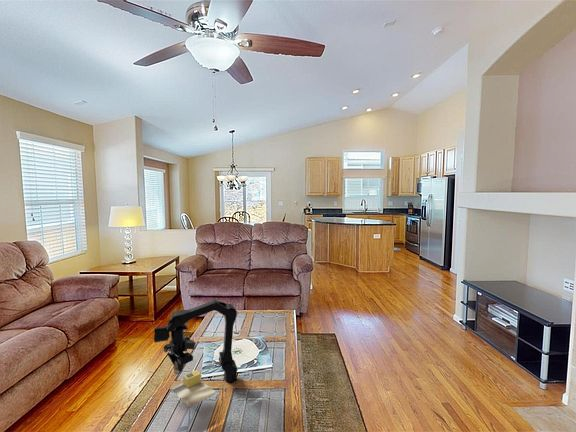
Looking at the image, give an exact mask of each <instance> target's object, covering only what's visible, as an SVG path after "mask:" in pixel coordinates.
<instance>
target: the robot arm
mask: <svg viewBox="0 0 576 432" xmlns="http://www.w3.org/2000/svg"><path fill="white" fill-rule="evenodd" d="M213 311H216V312H218V313H220V314H221V315H223V317H224V331H223V333H224V335H223V347H222V351H219V352H218V353H219V356H218V361H219V362H218V363H219V365H220V366H221V369H222V370H223V373H224V375H223V376H224V382H226V383H229V384H233V383H235V382H237V377H238V376H237V375H238V374H237V372H238V367H237V364H236V361H235V360H234V359H233V354H232V347H233V332H234V324H235V322H236V320H237V315H238V311H237V309H236V307H235V305H234V304H232V303H226V302H224V301H220V300H217V299H213V300H211V301H208V302H206V303H203V304H200V305H198V306H196V307H195V306H194V307H193V308H190V309H182V310H175V311H173V312H172V314H171V316H170V319H169V320H168V322H167V323H166V326H165V325H164V326H163V325H162V326H155V327H154V334H153V342H154V343H161V342H167V341H168V340H169V339H171V340H169V343H166V344H165V345H164V346H163V352H165V353H167V356H168V358H169V360H170V361H171V363H172V365H173V366H174V362H175V363H176V365H177V368H178V370H179V372H181V371H182V372H183V368H184V366H185V364H188V363H191V362H193V361H194V355H193V354H191V353H190V352H188V350H194V349H195V347H196V342H195V340H192V339H190V337H189V336H185V335H184V334H185V330H188V324H187V323H188V322H189V321H190V320H192V319H195V318H198V317H200V316H203V315H205V314H208V313H211V312H213ZM220 366H219V367H220Z"/></svg>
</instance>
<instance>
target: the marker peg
mask: <svg viewBox="0 0 576 432" xmlns="http://www.w3.org/2000/svg"><path fill="white" fill-rule="evenodd" d="M182 372H183V370H182V371H181V372H179V370H178V368H177V365H176V363H175V362H174V365H173V373H174V375H180V374H182Z"/></svg>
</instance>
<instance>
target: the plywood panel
mask: <svg viewBox="0 0 576 432" xmlns="http://www.w3.org/2000/svg"><path fill="white" fill-rule="evenodd" d="M169 388H170V389H171V391H172V392H174V393H175V395H177V396H178V397H179V399H181V401H183V402H184V403H185V404H186V406H187V407H189V408H191V407H194V406H195V405H197V404H200V403H201V402H203V401H204V400H207V399H209V398H211V397H212V396H215V395H216V394H217V392H216V391H215V390H214V389H213V388H211V387H210V386H209V385H208V384H207V383H205V382H204V381H203V379H201V382H200V383H198V384H195V385H193V386H191V387H189V388H187V387H186V386H185V385H184V384H183V381H180V382H178V383H176V384H174V385H172V386H170V387H169Z"/></svg>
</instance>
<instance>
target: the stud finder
mask: <svg viewBox="0 0 576 432" xmlns="http://www.w3.org/2000/svg"><path fill="white" fill-rule="evenodd" d="M182 378H183V379H182V382H183V384H184V385H185V386H186V387H187V388H189V387H191V386H193V385H195V384H198V383H200V382H201V380H202V379H201V373H200V372H199V371H198V370H197V369H196V370H193V371H190V372H188V373H186V374H184V375H182Z"/></svg>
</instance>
